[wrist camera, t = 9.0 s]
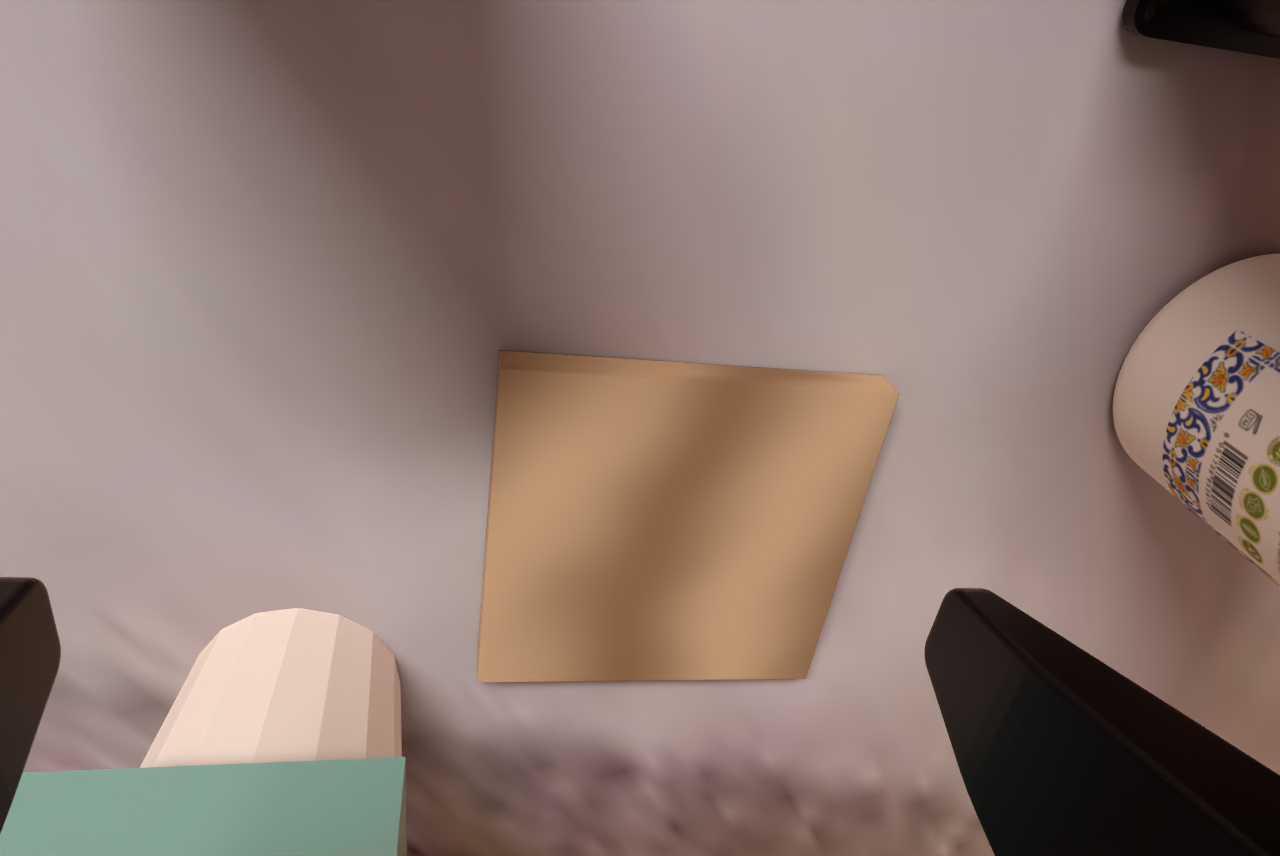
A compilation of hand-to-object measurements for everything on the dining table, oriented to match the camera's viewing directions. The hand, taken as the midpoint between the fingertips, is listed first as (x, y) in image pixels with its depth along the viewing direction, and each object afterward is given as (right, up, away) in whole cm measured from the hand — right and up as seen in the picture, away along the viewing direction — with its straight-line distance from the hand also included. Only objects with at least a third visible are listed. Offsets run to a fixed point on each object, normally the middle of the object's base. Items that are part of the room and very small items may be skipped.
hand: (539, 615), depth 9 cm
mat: (+2, -1, +16) cm, 16 cm away
